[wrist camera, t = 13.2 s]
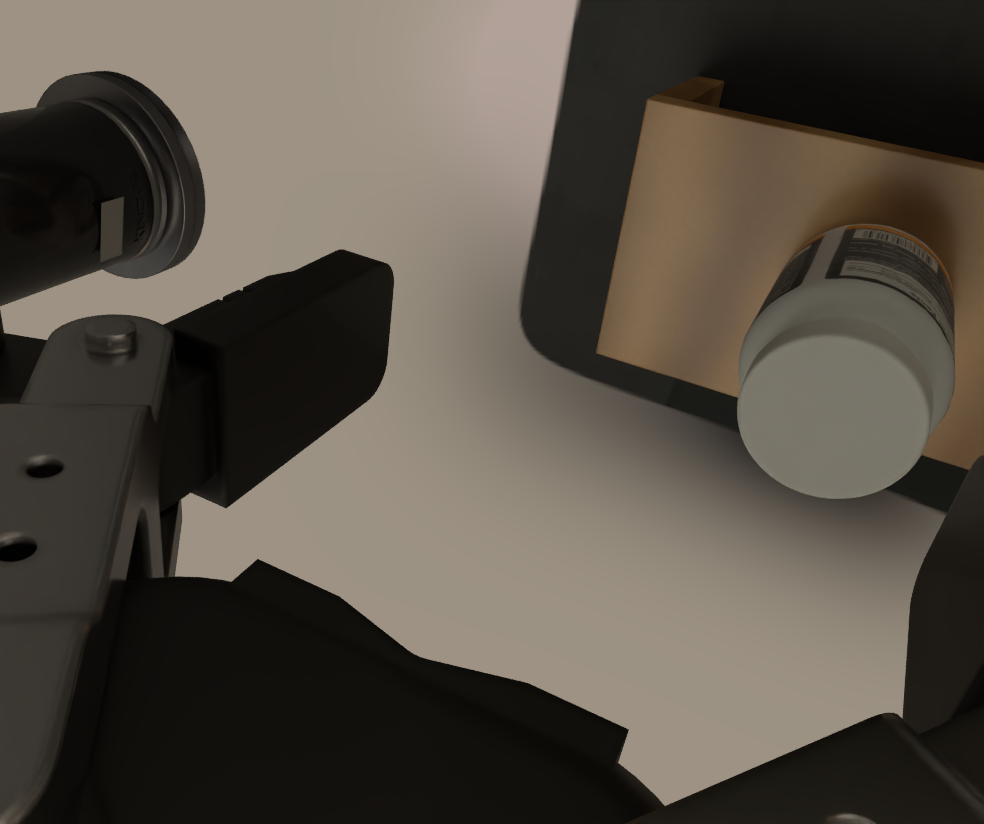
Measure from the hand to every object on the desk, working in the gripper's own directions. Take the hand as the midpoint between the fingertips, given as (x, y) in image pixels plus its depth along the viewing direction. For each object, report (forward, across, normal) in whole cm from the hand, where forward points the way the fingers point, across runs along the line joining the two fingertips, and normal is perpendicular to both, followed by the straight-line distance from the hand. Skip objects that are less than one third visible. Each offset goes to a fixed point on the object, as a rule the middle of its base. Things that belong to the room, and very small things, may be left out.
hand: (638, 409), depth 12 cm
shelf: (+28, -3, +5) cm, 29 cm away
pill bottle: (+21, -3, +5) cm, 22 cm away
